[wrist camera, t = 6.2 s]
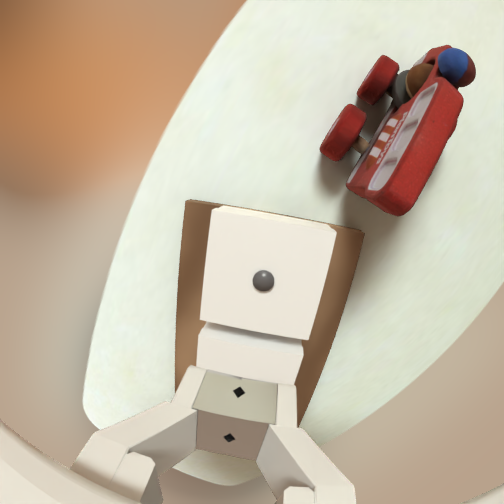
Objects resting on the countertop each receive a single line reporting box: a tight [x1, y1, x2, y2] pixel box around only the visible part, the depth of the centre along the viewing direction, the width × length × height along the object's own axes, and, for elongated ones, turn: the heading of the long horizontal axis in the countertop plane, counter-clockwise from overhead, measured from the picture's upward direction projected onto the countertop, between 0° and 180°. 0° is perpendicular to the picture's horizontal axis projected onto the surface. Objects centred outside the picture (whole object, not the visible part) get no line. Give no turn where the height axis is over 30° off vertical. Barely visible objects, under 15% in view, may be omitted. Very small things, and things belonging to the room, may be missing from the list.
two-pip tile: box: [196, 321, 304, 385], centre depth 19 cm, size 7×7×3 cm
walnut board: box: [175, 199, 365, 428], centre depth 22 cm, size 13×22×3 cm, turn 171°
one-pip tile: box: [200, 205, 337, 340], centre depth 17 cm, size 7×7×3 cm
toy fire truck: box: [320, 45, 476, 216], centre depth 13 cm, size 7×12×10 cm, turn 148°
